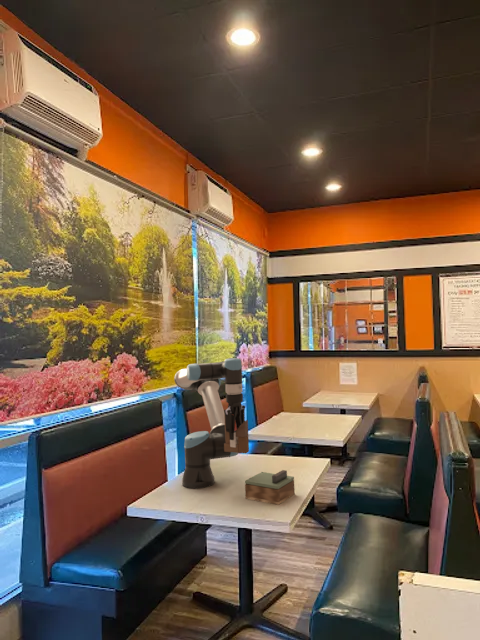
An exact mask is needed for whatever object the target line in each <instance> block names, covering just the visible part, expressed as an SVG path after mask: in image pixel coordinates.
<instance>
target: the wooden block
mask: <svg viewBox="0 0 480 640" xmlns="http://www.w3.org/2000/svg"><path fill="white" fill-rule="evenodd" d="M224 418H225V413H224ZM234 431H235V432H236V437H238V443H236V447H230V436H229V432H226V422H225V441H226V443H225V444H224V451H225V452H235V453H238V454H247V453H249V452H250V442H249V420H248V419H245V421H244V422H243V423H242V424H241V425H240V427H239V428H238V429H237V428H236V429H235V430H234Z"/></svg>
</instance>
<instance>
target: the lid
mask: <svg viewBox="0 0 480 640" xmlns="http://www.w3.org/2000/svg"><path fill="white" fill-rule="evenodd" d="M293 480H294V481H295V477H294V476H291V475H288V471H287V470H284V469H282V470H279V472H277V473H272V472H265V471H264V472H263V471H261V472H259V473H257V474H255V475H254V476H251V477H249V478H247V479H245V480H244V485H245V484H250V485H256V486H262V487H268V488H274V489H279V488H281V487H282V486H284V485H286V484H288V483H289V482H291V481H293Z"/></svg>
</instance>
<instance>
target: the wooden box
mask: <svg viewBox="0 0 480 640" xmlns="http://www.w3.org/2000/svg"><path fill="white" fill-rule="evenodd" d="M244 491H245V493H244V494H245V495H244V496H245V499H246V500H250V501H251V500H252V501H256V502H262V503H267V504H272V505H277V506H279V505H280V504H282V503H284V502H285V501H287V500H289V499H291V497H293V496H294V495H295V479H294V480H293V481H291V482H289V483H288V484H286V485H284V486H282V487H281V488H279V489H274V488H268V487H262V486H256V485H250V484H245V483H244Z"/></svg>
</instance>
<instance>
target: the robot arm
mask: <svg viewBox="0 0 480 640" xmlns="http://www.w3.org/2000/svg"><path fill="white" fill-rule="evenodd" d="M221 379H224V381H225V393H226V394H225V402H226V403H227V408H226V409H224V407H223V402H222V400H221V398H220V395H219V394H220V393H219V389H220V386H221V383H222V380H221ZM174 383H175V385H176V386H177V387H178V388H180V389H183V390H187V391H193V390H197V392H198V394H199V395H201V396H202V401H203V405H204V408H205V411H206V415H207V418H208V422H209V426H210V429H211V430H210V431H207V430H201V431H199V430H198V431H194V432H192V433H189V434H188V435H186V436H185V437H184V443H183V445H184V446H183V448H184V463H185V464H184V465H185V466H184V467H185V468H184V471H183V474H182V475H183V476H182V479H181V482H182V484H181V485H182V486H183V487H184V488H189V489H203V488H207V487H211V486H212V485H214V484H215V481H216V480H215V475H214V473H213V470H212V467H211V460H217V459H224V458H231V457H236V456H237V455H238V454H239V453H235V452H225V451H224V444H225V443H226V441H225V422H226V432H229V436H230V447H236V443H238V437H236V432H235V431H236V430H237V429H238V428H239V427H240V425H241V424H242V423H243V422H244V421H246V419H245V417H246V416H245V409H246V405H245V404H244V405H243V404H242V402H244V399H243V398H244V397H243V395H244V394H243V365H242V359H241V358H238V357H235V358H231V357H230V358H225V359H224V361H219V362H205V363H204V362H203V363H197V362H196V363H190V364H188V365H187V366H186V368H181V369H179V370H178V371H176V373H175V375H174ZM224 413H225V418H224ZM235 427H236V428H235Z"/></svg>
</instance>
